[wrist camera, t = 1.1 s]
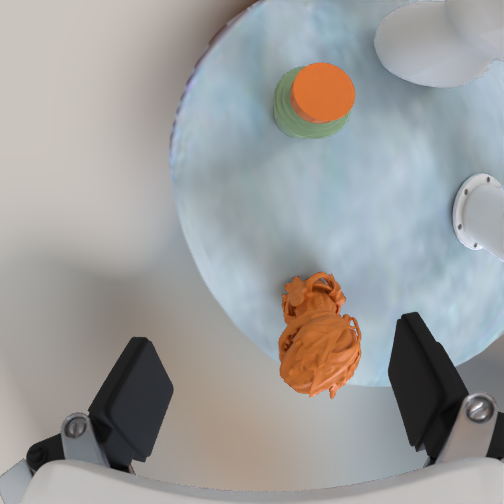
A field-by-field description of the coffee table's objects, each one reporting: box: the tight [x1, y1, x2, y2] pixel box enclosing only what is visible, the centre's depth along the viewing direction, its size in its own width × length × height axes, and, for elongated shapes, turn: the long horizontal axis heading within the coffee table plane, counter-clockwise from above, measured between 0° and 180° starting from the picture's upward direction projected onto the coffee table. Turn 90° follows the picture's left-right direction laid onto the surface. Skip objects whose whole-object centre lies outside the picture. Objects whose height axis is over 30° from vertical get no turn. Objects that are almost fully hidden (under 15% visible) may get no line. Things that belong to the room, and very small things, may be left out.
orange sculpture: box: [278, 272, 361, 399], centre depth 34 cm, size 11×11×18 cm
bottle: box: [274, 66, 351, 139], centre depth 24 cm, size 6×6×18 cm
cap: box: [290, 63, 355, 124], centre depth 17 cm, size 4×4×4 cm
